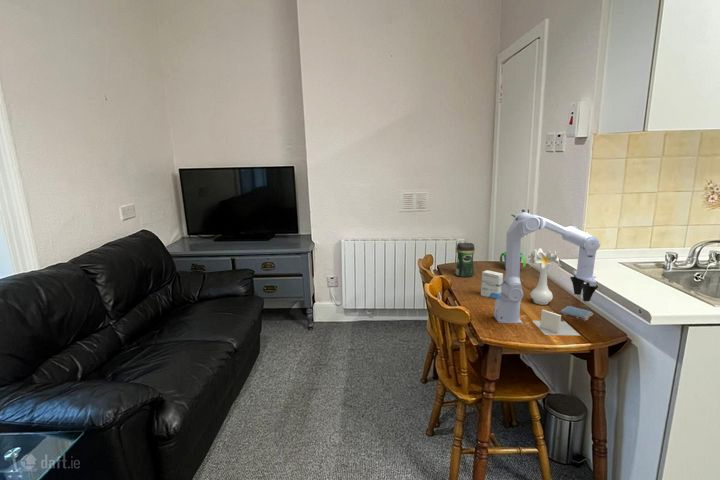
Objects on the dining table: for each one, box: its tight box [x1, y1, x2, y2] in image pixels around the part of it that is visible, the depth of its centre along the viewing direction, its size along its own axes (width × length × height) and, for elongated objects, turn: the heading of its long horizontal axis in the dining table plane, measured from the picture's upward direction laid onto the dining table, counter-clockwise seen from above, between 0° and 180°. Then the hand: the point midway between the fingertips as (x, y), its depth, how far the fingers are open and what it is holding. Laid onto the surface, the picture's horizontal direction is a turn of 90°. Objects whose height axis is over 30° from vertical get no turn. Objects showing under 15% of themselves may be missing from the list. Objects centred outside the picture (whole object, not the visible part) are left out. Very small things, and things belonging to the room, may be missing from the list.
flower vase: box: [527, 247, 562, 306], centre depth 181 cm, size 13×18×25 cm
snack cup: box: [499, 251, 527, 270], centre depth 233 cm, size 16×10×10 cm
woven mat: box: [560, 305, 594, 322], centre depth 170 cm, size 10×11×2 cm
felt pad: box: [532, 320, 581, 337], centre depth 156 cm, size 13×13×1 cm
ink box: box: [480, 270, 504, 300], centre depth 191 cm, size 8×5×12 cm, turn 47°
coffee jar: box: [455, 242, 476, 278], centre depth 222 cm, size 10×8×19 cm
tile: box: [540, 309, 562, 333], centre depth 153 cm, size 1×7×7 cm, turn 37°
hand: (581, 297), depth 161 cm, fingers open, 7 cm apart
